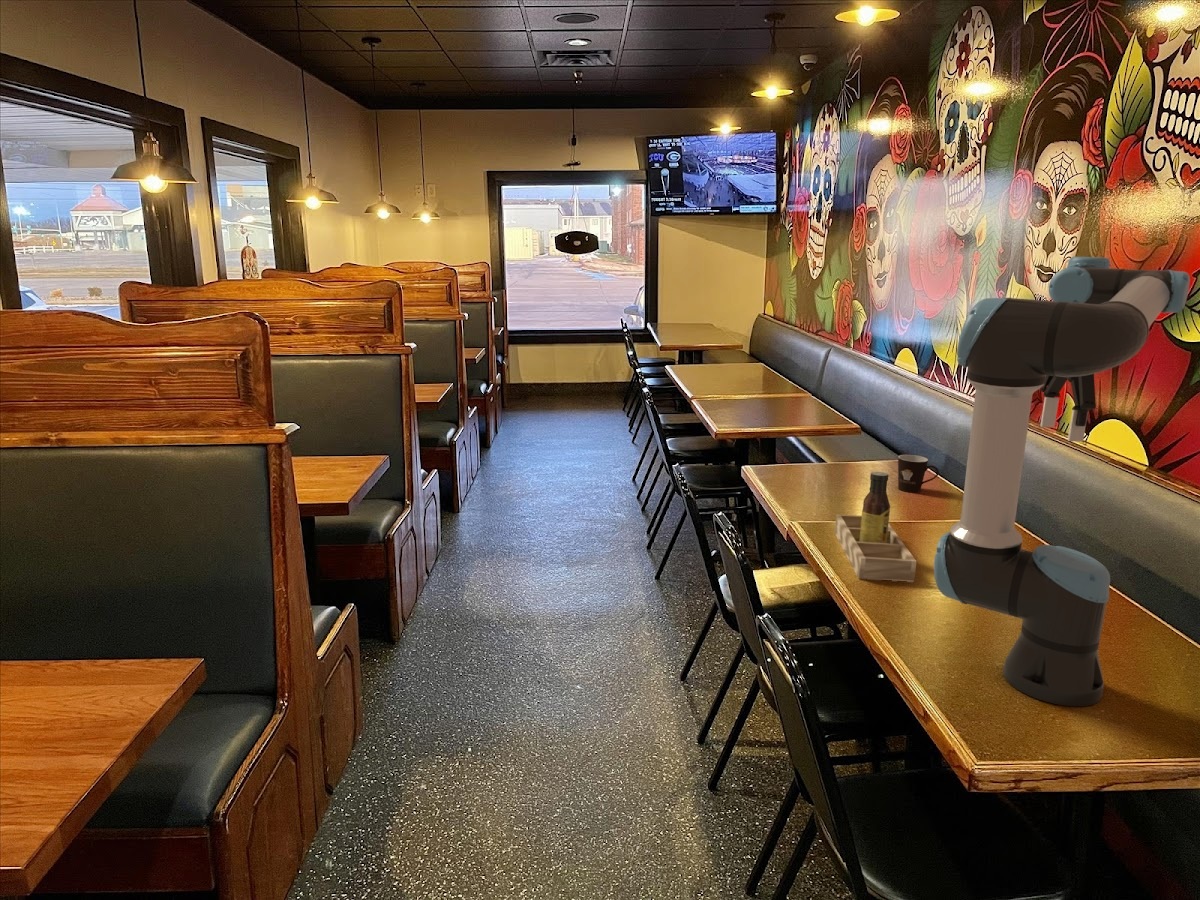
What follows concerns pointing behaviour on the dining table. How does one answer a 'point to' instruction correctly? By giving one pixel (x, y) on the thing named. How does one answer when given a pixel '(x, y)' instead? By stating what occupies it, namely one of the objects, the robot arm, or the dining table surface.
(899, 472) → the coffee mug
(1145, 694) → the dining table surface
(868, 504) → the sauce bottle
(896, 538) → the condiment rack
